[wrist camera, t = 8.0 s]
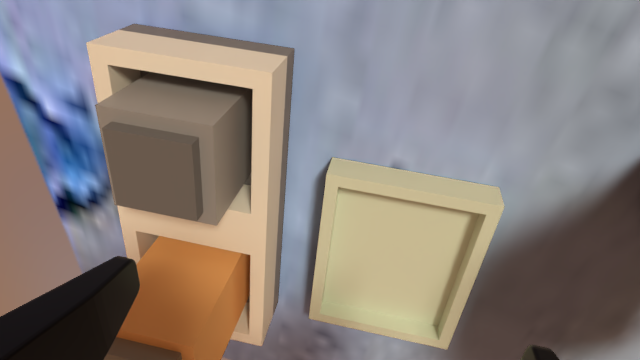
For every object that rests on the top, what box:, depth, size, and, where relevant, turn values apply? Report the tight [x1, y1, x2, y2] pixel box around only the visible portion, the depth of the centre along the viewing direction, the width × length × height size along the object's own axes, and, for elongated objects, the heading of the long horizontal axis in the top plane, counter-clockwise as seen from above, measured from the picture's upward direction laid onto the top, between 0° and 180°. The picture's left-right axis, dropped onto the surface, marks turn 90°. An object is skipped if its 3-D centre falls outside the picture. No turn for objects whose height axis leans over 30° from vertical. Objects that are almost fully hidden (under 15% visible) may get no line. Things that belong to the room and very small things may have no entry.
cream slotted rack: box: [86, 24, 294, 346], centre depth 21 cm, size 8×16×6 cm, turn 174°
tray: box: [309, 157, 504, 349], centre depth 23 cm, size 8×10×2 cm
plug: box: [104, 236, 250, 360], centre depth 22 cm, size 4×4×8 cm
